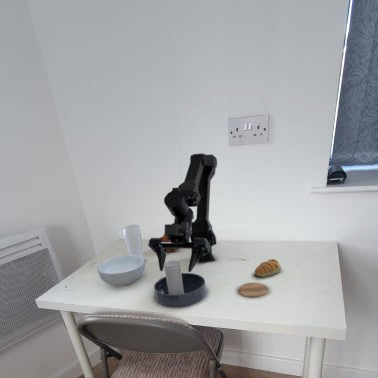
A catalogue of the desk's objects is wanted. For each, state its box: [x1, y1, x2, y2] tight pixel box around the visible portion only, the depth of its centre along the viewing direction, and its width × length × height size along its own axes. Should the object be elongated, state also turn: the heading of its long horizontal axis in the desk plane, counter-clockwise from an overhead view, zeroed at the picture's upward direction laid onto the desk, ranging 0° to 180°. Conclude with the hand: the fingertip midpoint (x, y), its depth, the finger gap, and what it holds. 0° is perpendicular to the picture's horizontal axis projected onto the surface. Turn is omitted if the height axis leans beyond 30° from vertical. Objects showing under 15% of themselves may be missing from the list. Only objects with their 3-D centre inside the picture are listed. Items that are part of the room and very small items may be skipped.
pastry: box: [254, 258, 282, 278], centre depth 112 cm, size 9×7×4 cm
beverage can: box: [163, 260, 184, 295], centre depth 99 cm, size 5×5×12 cm
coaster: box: [238, 282, 269, 298], centre depth 102 cm, size 9×9×1 cm
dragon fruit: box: [160, 234, 180, 253], centre depth 141 cm, size 8×8×12 cm
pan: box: [153, 272, 207, 308], centre depth 104 cm, size 16×16×4 cm
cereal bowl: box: [96, 254, 146, 287], centre depth 117 cm, size 17×17×7 cm
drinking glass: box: [121, 223, 145, 260], centre depth 131 cm, size 7×7×15 cm
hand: (175, 271), depth 99 cm, fingers open, 9 cm apart
